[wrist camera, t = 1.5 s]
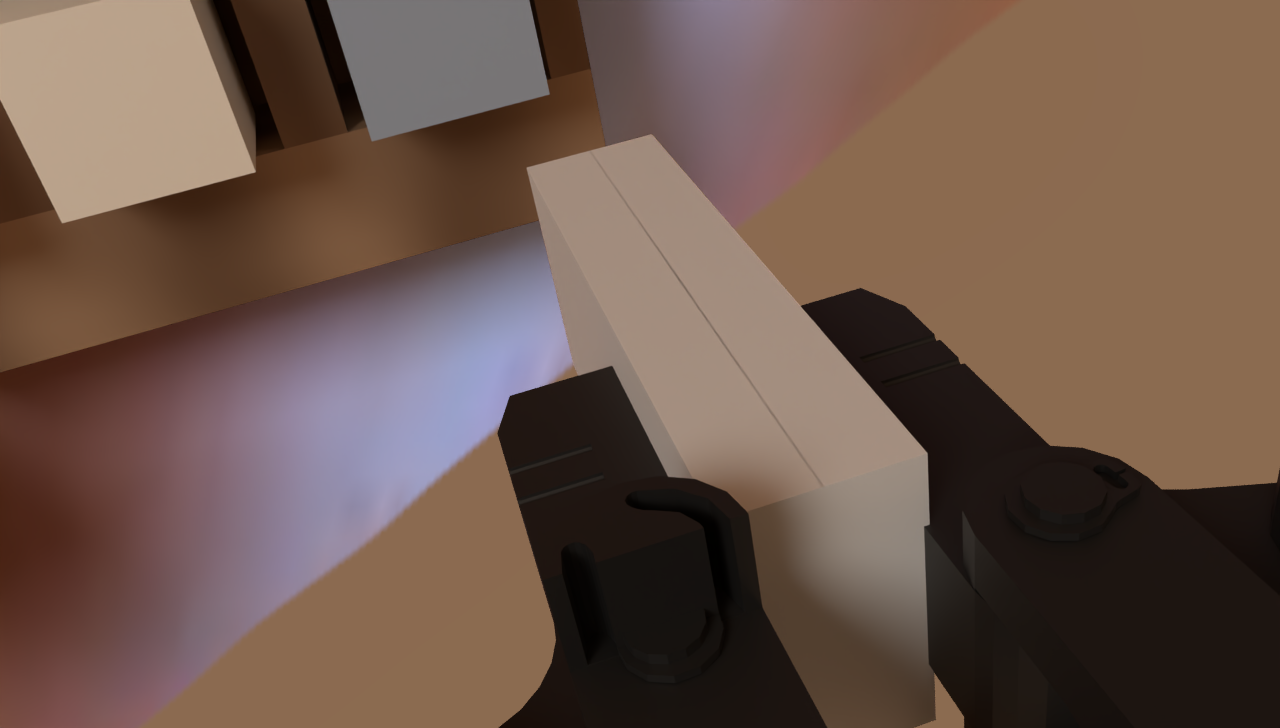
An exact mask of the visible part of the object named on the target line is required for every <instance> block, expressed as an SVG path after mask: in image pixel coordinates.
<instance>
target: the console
mask: <svg viewBox="0 0 1280 728" xmlns="http://www.w3.org/2000/svg"><path fill="white" fill-rule="evenodd" d="M213 1H214V4H215V7H216V9H217V12H218V15H219V18H220V20H221V23H222V26H223V28H224V31H225V34H226V36H227V39H228V42H229V44H230V47H231V50H232V52H233V55H234V58H235V61H236V63H237V66H238V69H239V71H240V74H241V77H242V79H243V82H244V85H245V87H246V90H247V93H248V95H249V98H250V101H251V103H252V106H253V109H254V112H255V114H256V172H255V173H251V174H247V175H243V176H239V177H236V178H232V179H228V180H224V181H221V182H217V183H213V184H209V185H205V186H202V187H198V188H194V189H190V190H187V191H183V192H179V193H175V194H171V195H168V196H164V197H160V198H156V199H153V200H149V201H145V202H141V203H137V204H134V205H130V206H126V207H122V208H119V209H115V210H111V211H107V212H103V213H100V214H96V215H92V216H88V217H84V218H81V219H77V220H73V221H69V222H66V223H62V222H61V220H60V218H59V216H58V214H57V212H56V210H55V208H54V206H53V204H52V202H51V200H50V198H49V196H48V194H47V192H46V190H45V188H44V186H43V184H42V182H41V180H40V178H39V176H38V174H37V172H36V170H35V168H34V166H33V164H32V162H31V160H30V158H29V156H28V154H27V152H26V150H25V148H24V146H23V144H22V142H21V140H20V138H19V136H18V134H17V132H16V130H15V128H14V126H13V124H12V122H11V120H10V118H9V116H8V114H7V112H6V110H5V108H4V106H3V104H2V102H1V100H0V372H4V371H7V370H11V369H14V368H18V367H21V366H25V365H28V364H32V363H35V362H39V361H43V360H46V359H50V358H53V357H57V356H60V355H64V354H67V353H71V352H74V351H78V350H82V349H85V348H89V347H92V346H96V345H99V344H103V343H106V342H110V341H113V340H117V339H121V338H124V337H128V336H131V335H135V334H138V333H142V332H145V331H149V330H152V329H156V328H159V327H163V326H167V325H170V324H174V323H177V322H181V321H184V320H188V319H191V318H195V317H198V316H202V315H206V314H209V313H213V312H216V311H220V310H223V309H227V308H230V307H234V306H237V305H241V304H244V303H248V302H252V301H255V300H259V299H262V298H266V297H269V296H273V295H276V294H280V293H283V292H287V291H291V290H294V289H298V288H301V287H305V286H308V285H312V284H315V283H319V282H322V281H326V280H329V279H333V278H337V277H340V276H344V275H347V274H351V273H354V272H358V271H361V270H365V269H368V268H372V267H376V266H379V265H383V264H386V263H390V262H393V261H397V260H400V259H404V258H407V257H411V256H414V255H418V254H422V253H425V252H429V251H432V250H436V249H439V248H443V247H446V246H450V245H453V244H457V243H461V242H464V241H468V240H471V239H475V238H478V237H482V236H485V235H489V234H492V233H496V232H499V231H503V230H507V229H510V228H514V227H517V226H521V225H524V224H528V223H531V222H535V221H538V220H539V218H538V214H537V210H536V205H535V201H534V197H533V193H532V189H531V184H530V180H529V176H528V172H527V167H531V166H534V165H538V164H542V163H546V162H549V161H553V160H557V159H561V158H564V157H568V156H572V155H575V154H579V153H583V152H587V151H590V150H594V149H598V148H602V147H605V146H606V145H605V140H604V135H603V130H602V125H601V120H600V115H599V109H598V104H597V99H596V94H595V89H594V84H593V79H592V74H591V68H590V63H589V58H588V53H587V48H586V43H585V38H584V32H583V27H582V22H581V17H580V12H579V7H578V2H577V0H529V2H530V6H531V11H532V15H533V20H534V24H535V29H536V34H537V38H538V43H539V47H540V52H541V57H542V61H543V66H544V70H545V75H546V79H547V84H548V89H549V93H550V94H549V95H546V96H542V97H538V98H534V99H531V100H527V101H523V102H519V103H515V104H512V105H508V106H504V107H500V108H497V109H493V110H489V111H485V112H481V113H478V114H474V115H470V116H466V117H463V118H459V119H455V120H451V121H447V122H444V123H440V124H436V125H432V126H428V127H425V128H421V129H417V130H413V131H410V132H406V133H402V134H398V135H394V136H391V137H387V138H383V139H379V140H376V141H371V137H370V134H369V131H368V128H367V125H366V122H365V119H364V115H363V112H362V109H361V106H360V103H359V100H358V96H357V93H356V90H355V87H354V84H353V81H352V78H351V74H350V71H349V68H348V65H347V62H346V59H345V55H344V52H343V49H342V46H341V43H340V40H339V36H338V33H337V30H336V27H335V24H334V21H333V18H332V14H331V11H330V8H329V5H328V2H327V0H213Z"/></svg>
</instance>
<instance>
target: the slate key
mask: <svg viewBox="0 0 1280 728" xmlns="http://www.w3.org/2000/svg"><path fill="white" fill-rule="evenodd" d="M327 2H328V5H329V8H330V11H331V14H332V18H333V21H334V24H335V27H336V30H337V33H338V36H339V40H340V43H341V46H342V49H343V52H344V55H345V59H346V62H347V65H348V68H349V71H350V74H351V78H352V81H353V84H354V87H355V90H356V93H357V96H358V100H359V103H360V106H361V109H362V112H363V115H364V119H365V122H366V125H367V128H368V131H369V134H370V137H371V141H376V140H379V139H383V138H387V137H391V136H394V135H398V134H402V133H406V132H410V131H413V130H417V129H421V128H425V127H428V126H432V125H436V124H440V123H444V122H447V121H451V120H455V119H459V118H463V117H466V116H470V115H474V114H478V113H481V112H485V111H489V110H493V109H497V108H500V107H504V106H508V105H512V104H515V103H519V102H523V101H527V100H531V99H534V98H538V97H542V96H546V95H549V94H550V93H549V89H548V84H547V79H546V75H545V70H544V66H543V61H542V57H541V52H540V47H539V43H538V38H537V34H536V29H535V24H534V20H533V15H532V11H531V6H530V2H529V0H327Z"/></svg>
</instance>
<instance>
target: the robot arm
mask: <svg viewBox="0 0 1280 728" xmlns="http://www.w3.org/2000/svg"><path fill="white" fill-rule="evenodd" d="M527 172H528V176H529V180H530V184H531V189H532V193H533V197H534V201H535V205H536V210H537V214H538V218H539V222H540V226H541V230H542V235H543V239H544V243H545V247H546V251H547V256H548V260H549V264H550V268H551V272H552V276H553V281H554V285H555V289H556V293H557V297H558V302H559V306H560V310H561V314H562V318H563V323H564V327H565V331H566V335H567V339H568V343H569V348H570V352H571V356H572V360H573V364H574V367H575V369H576V371H577V374H578V376H576V377H573V378H569V379H566V380H562V381H559V382H555V383H552V384H549V385H545V386H542V387H539V388H535V389H532V390H528V391H525V392H522V393H518V394H515V395H512V396H510V397H509V400H508V403H507V406H506V409H505V412H504V415H503V418H502V421H501V424H500V427H499V430H498V437H499V440H500V443H501V447H502V450H503V454H504V457H505V460H506V464H507V467H508V470H509V474H510V477H511V480H512V484H513V487H514V491H515V494H516V497H517V501H518V504H519V508H520V511H521V514H522V518H523V521H524V524H525V528H526V531H527V535H528V538H529V541H530V544H531V548H532V551H533V555H534V558H535V561H536V565H537V568H538V571H539V575H540V578H541V581H542V584H543V588H544V591H545V595H546V598H547V601H548V604H549V608H550V611H551V615H552V618H553V621H554V626H555V635H556V643H555V648H554V654H553V659H552V663H551V665H550V667H549V669H548V671H547V674H546V675H545V677H544V679H543V681H542V683H541V685H540V687H539V688H538V690H537V691H536V692H535V693H534V695H533V696H532V697H531V698H530V699H529V700H528V702H527V703H526V704H525V705H524V707H523V708H522V709H521V710H520V711H519V712H517V713H516V714H515V715H514V716H512V717H511V718H510V719H509V720H508V721H506V722H505V723H504V724H503V725H501V726H500V727H499V728H914V727H917V726H920V725H922V724H925V723H928V722H931V721H934V720H936V717H935V687H934V686H935V684H934V673H935V674H936V676H937V677H938V679H939V680H940V681H941V683H942V685H943V686H944V688H945V689H946V691H947V692H948V693H949V695H950V696H951V698H952V699H953V701H954V702H955V704H956V705H957V707H958V708H959V710H960V711H961V713H962V714H963V716H964V728H1280V470H1279V476H1278V481H1277V483H1268V484H1255V485H1242V486H1229V487H1216V488H1202V489H1189V490H1161V489H1160V488H1159V487H1158V486H1157V485H1156V484H1155V483H1154V482H1153V481H1151V480H1150V479H1149V478H1148V477H1147V476H1145V475H1143V474H1142V473H1140V472H1139V471H1137V470H1135V469H1134V468H1132V467H1131V466H1129V465H1128V464H1126V463H1124V462H1123V461H1121V460H1120V459H1118V458H1114V457H1111V456H1108V455H1104V454H1101V453H1098V452H1095V451H1091V450H1088V449H1085V448H1076V447H1060V446H1050V445H1049V444H1047V443H1046V442H1045V441H1044V440H1043V439H1042V438H1041V437H1040V436H1039V435H1038V434H1037V433H1036V432H1035V431H1034V430H1033V429H1032V428H1031V427H1030V426H1029V425H1028V424H1027V423H1026V422H1025V421H1023V420H1022V418H1021V417H1020V416H1018V415H1017V414H1016V413H1015V412H1014V411H1013V410H1012V409H1011V408H1010V407H1009V406H1008V405H1007V404H1006V403H1005V402H1004V401H1003V400H1002V399H1001V398H1000V397H999V396H998V395H997V394H996V393H995V392H994V391H992V389H991V388H989V387H988V386H987V385H986V384H985V383H984V382H983V381H982V380H981V379H980V378H979V377H978V376H977V375H976V374H975V373H974V372H973V371H972V370H971V369H970V368H969V367H968V366H967V365H966V364H960V362H959V359H958V357H957V356H956V355H955V354H954V353H953V352H952V351H951V350H950V349H949V348H948V347H947V346H946V345H945V344H944V343H943V342H942V341H941V340H938V341H936V339H935V336H934V333H932V332H931V331H930V330H929V329H928V328H927V327H926V326H925V325H924V324H923V323H922V322H921V321H920V320H919V319H918V318H917V317H916V316H915V315H914V314H913V313H912V312H911V311H910V310H909V309H907V307H905V306H903V305H901V304H898V303H896V302H894V301H891V300H889V299H886V298H884V297H881V296H879V295H876V294H874V293H872V292H869V291H867V290H864V289H862V288H860V289H856V290H853V291H849V292H846V293H843V294H839V295H836V296H833V297H829V298H826V299H823V300H819V301H815V302H812V303H809V304H805V305H802V306H800V305H799V304H798V303H797V302H796V301H795V300H794V298H793V297H792V296H791V295H790V294H789V292H788V291H787V290H786V289H785V288H784V287H783V285H782V284H781V283H780V282H779V281H778V280H777V279H776V277H775V276H774V275H773V274H772V273H771V271H770V270H769V269H768V268H767V267H766V266H765V265H764V263H763V262H762V261H761V260H760V259H759V258H758V256H757V255H756V254H755V253H754V252H753V251H752V250H751V249H750V247H749V246H748V245H747V244H746V243H745V242H744V240H743V239H742V238H741V237H740V236H739V234H738V233H737V232H736V231H735V230H734V229H733V228H732V226H731V225H730V224H729V223H728V222H727V221H726V219H725V218H724V217H723V216H722V215H721V214H720V212H719V211H718V210H717V209H716V208H715V207H714V206H713V204H712V203H711V202H710V201H709V200H708V199H707V197H706V196H705V195H704V194H703V193H702V192H701V190H700V189H699V188H698V187H697V186H696V185H695V184H694V182H693V181H692V180H691V179H690V178H689V177H688V175H687V174H686V173H685V172H684V171H683V170H682V168H681V167H680V166H679V165H678V164H677V163H676V162H675V160H674V159H673V158H672V157H671V156H670V155H669V153H668V152H667V151H666V150H665V149H664V148H663V146H662V145H661V144H660V143H659V142H658V141H657V140H656V138H655V137H654V136H653V135H652V134H650V135H646V136H643V137H639V138H635V139H632V140H628V141H624V142H620V143H617V144H613V145H609V146H605V147H602V148H598V149H594V150H590V151H587V152H583V153H579V154H575V155H572V156H568V157H564V158H561V159H557V160H553V161H549V162H546V163H542V164H538V165H534V166H531V167H527Z"/></svg>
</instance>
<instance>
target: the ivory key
mask: <svg viewBox="0 0 1280 728" xmlns="http://www.w3.org/2000/svg"><path fill="white" fill-rule="evenodd" d="M0 100H1V102H2V104H3V106H4V108H5V110H6V112H7V114H8V116H9V118H10V120H11V122H12V124H13V126H14V128H15V130H16V132H17V134H18V136H19V138H20V140H21V142H22V144H23V146H24V148H25V150H26V152H27V154H28V156H29V158H30V160H31V162H32V164H33V166H34V168H35V170H36V172H37V174H38V176H39V178H40V180H41V182H42V184H43V186H44V188H45V190H46V192H47V194H48V196H49V198H50V200H51V202H52V204H53V206H54V208H55V210H56V212H57V214H58V216H59V218H60V220H61V222H62V223H66V222H69V221H73V220H77V219H81V218H84V217H88V216H92V215H96V214H100V213H103V212H107V211H111V210H115V209H119V208H122V207H126V206H130V205H134V204H137V203H141V202H145V201H149V200H153V199H156V198H160V197H164V196H168V195H171V194H175V193H179V192H183V191H187V190H190V189H194V188H198V187H202V186H205V185H209V184H213V183H217V182H221V181H224V180H228V179H232V178H236V177H239V176H243V175H247V174H251V173H255V172H256V114H255V112H254V109H253V106H252V103H251V101H250V98H249V95H248V93H247V90H246V87H245V85H244V82H243V79H242V77H241V74H240V71H239V69H238V66H237V63H236V61H235V58H234V55H233V52H232V50H231V47H230V44H229V42H228V39H227V36H226V34H225V31H224V28H223V26H222V23H221V20H220V18H219V15H218V12H217V9H216V7H215V4H214V1H213V0H0Z"/></svg>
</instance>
